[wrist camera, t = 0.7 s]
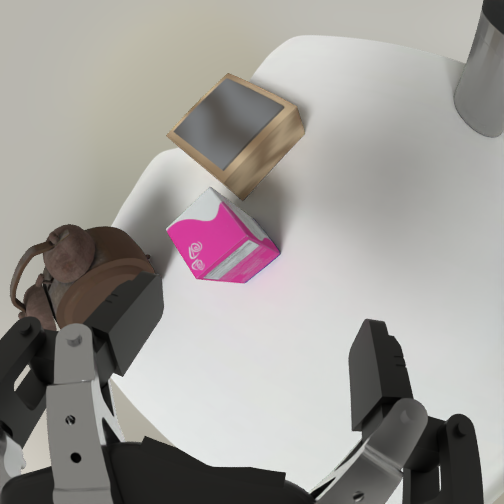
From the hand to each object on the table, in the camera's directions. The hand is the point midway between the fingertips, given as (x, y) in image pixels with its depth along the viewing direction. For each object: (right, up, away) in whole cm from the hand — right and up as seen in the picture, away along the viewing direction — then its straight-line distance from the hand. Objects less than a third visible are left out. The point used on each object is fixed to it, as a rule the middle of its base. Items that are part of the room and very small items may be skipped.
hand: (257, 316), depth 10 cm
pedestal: (-1, +17, +25) cm, 31 cm away
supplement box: (-1, +2, +23) cm, 23 cm away
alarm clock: (-17, -3, +27) cm, 32 cm away
